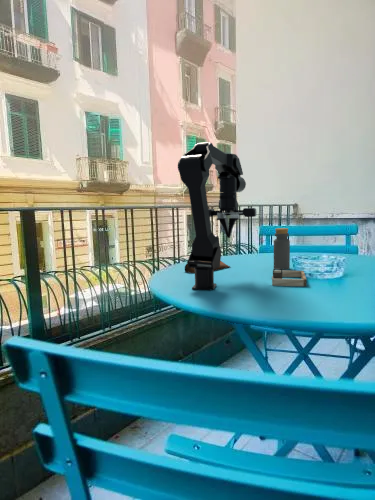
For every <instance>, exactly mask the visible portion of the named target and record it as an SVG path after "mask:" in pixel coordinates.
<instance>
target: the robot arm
mask: <svg viewBox="0 0 375 500" xmlns="http://www.w3.org/2000/svg"><path fill="white" fill-rule="evenodd" d="M213 165H214V169H215V170H216V171H217V173H218V176H217V179H218V180H219V200H218V210H215V208H209V202H208V197H207V189H206V184H207V182H208V179H209V177H210V170H211V168H212V166H213ZM177 169H178V172H179V176H180V180H181V181H182V183H183V184H184V185H185V186H186V188H187V190H188V194H189V195H188V196H189V201H190V206H191V207H190V208H191V212H192V213H191V215H192V219H193V226H194V233H195V237H194V240H193V241H192V244H191V248H192V249H191V252H190V254H189V257H188V259H187V261H186V262H187V263H186V264H188V268H195V273H194V285H193V286H192V287H191V289H192V290H199V291H200V290H204V291H205V290H206V291H208V290H209V291H212V290H214V289H215V288H216V287H217V283H215V282H214V281H215V280H214V279H215V274H214V273H215V271H214V269H216V268H219V267H220V261H221V259H222V249H221V245H220V238H219V236H218V235H216V234H214V233H213V231H212V225H211V217H215V216H216V217H217V218H216V221H220V224H221V226H222V228H223V230H224V233H225V235H226V238H228V239H231V237H232V232H233V230H234V226H235V225H236V222H237V220H240V218H241V217H240V216H244V217H245V218H253V217H254V218H255V217H257V209H256V208H255V207H244V208H243V209H239V203H238V200H237V199H238V197H237V193H242V192H243V191H244V190H245V189H246V185H247V183H246V181H245V178H243V177H242V176H243V175H244V171H243V168H242V165H241V161H240V158H239V157H238V155H237V154H236V153H225V152H224V151H222V150H221V149H219V148H218V147H216V146H215V145H214V144H213V143H212V142H209V141H207V142H198V143H196V144H194V146H193V147H192V148H191V149H189V150H188V151H187V152H185V153H184V154H182V156H181V158H180V159H179V160H178V162H177ZM228 216H230V217H228ZM199 261H203V262H199Z"/></svg>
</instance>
